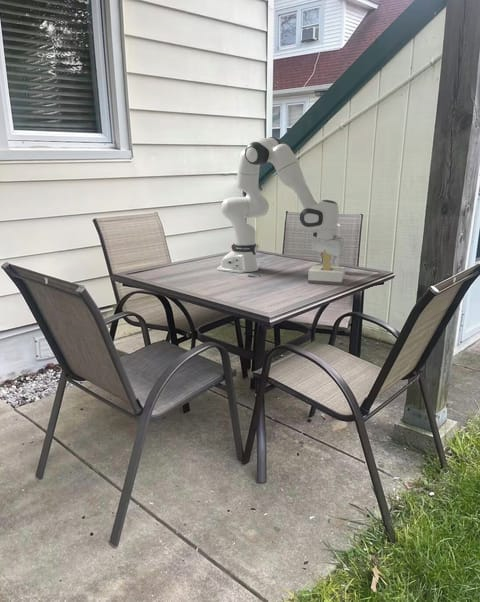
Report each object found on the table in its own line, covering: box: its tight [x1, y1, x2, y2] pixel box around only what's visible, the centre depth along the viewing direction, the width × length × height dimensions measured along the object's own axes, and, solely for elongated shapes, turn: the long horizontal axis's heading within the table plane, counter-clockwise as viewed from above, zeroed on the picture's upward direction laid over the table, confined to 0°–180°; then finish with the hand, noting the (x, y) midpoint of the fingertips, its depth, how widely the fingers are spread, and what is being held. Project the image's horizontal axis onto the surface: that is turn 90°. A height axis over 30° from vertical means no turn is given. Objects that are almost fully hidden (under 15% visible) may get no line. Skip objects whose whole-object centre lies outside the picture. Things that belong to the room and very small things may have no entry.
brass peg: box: [322, 250, 332, 270], centre depth 233 cm, size 4×4×12 cm
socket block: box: [307, 264, 346, 286], centre depth 235 cm, size 16×13×6 cm
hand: (327, 262), depth 233 cm, fingers closed on brass peg, 6 cm apart
